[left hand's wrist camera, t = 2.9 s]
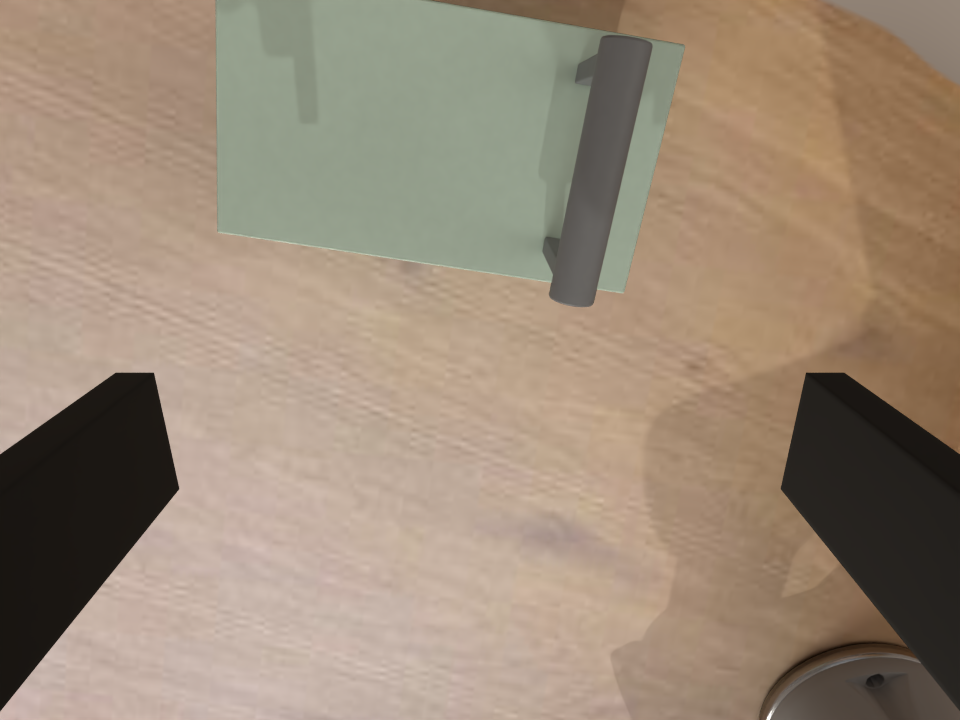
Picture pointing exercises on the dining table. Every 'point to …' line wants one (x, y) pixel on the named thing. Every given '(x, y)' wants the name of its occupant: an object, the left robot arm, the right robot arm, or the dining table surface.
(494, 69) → the lid
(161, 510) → the left robot arm
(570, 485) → the dining table surface
